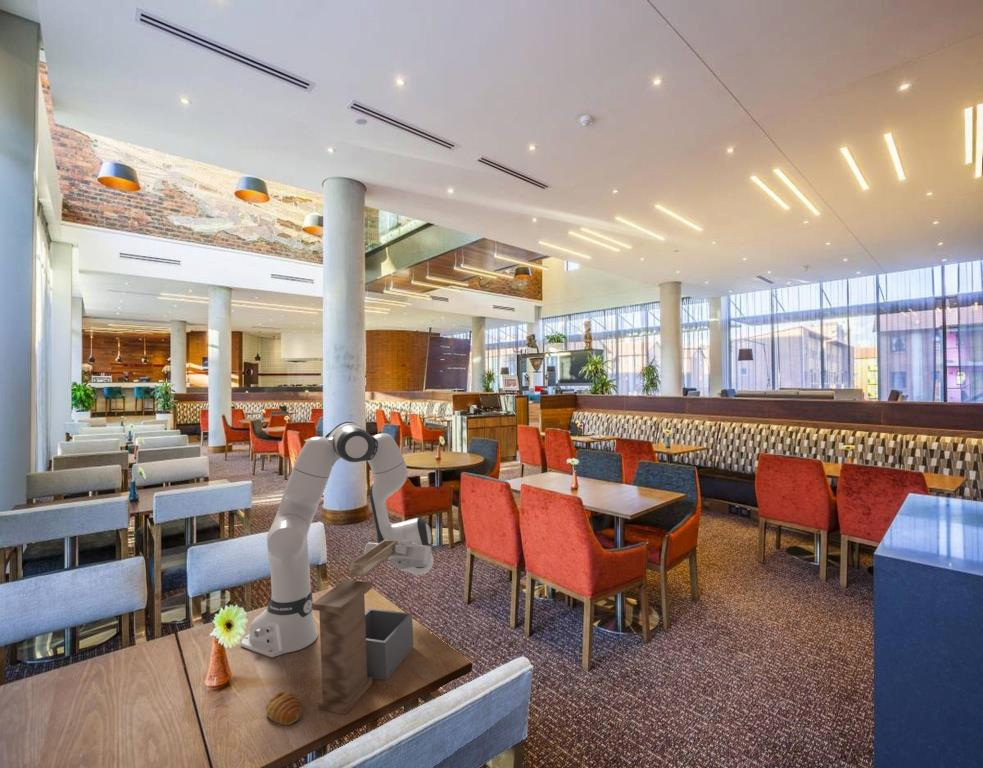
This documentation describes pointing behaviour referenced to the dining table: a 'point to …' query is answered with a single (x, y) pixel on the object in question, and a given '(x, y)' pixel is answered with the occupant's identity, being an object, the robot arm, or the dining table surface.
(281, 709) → the pastry
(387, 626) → the charcoal crate
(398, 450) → the robot arm
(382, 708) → the dining table surface
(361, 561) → the birch crate
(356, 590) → the walnut pedestal
